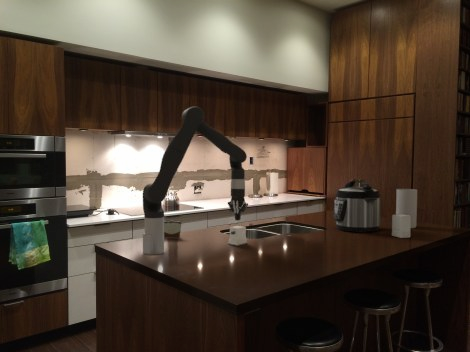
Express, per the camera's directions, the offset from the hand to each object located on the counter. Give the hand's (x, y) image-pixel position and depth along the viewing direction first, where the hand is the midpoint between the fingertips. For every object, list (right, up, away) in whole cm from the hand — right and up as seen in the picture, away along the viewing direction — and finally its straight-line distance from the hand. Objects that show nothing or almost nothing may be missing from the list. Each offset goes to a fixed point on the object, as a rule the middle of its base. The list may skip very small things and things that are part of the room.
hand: (237, 220), depth 206 cm
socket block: (0, -13, +1) cm, 13 cm away
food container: (-37, -12, +18) cm, 43 cm away
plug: (0, -12, 0) cm, 12 cm away
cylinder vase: (+113, -11, +54) cm, 125 cm away
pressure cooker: (+76, -11, +44) cm, 89 cm away
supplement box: (+96, -12, +22) cm, 99 cm away
